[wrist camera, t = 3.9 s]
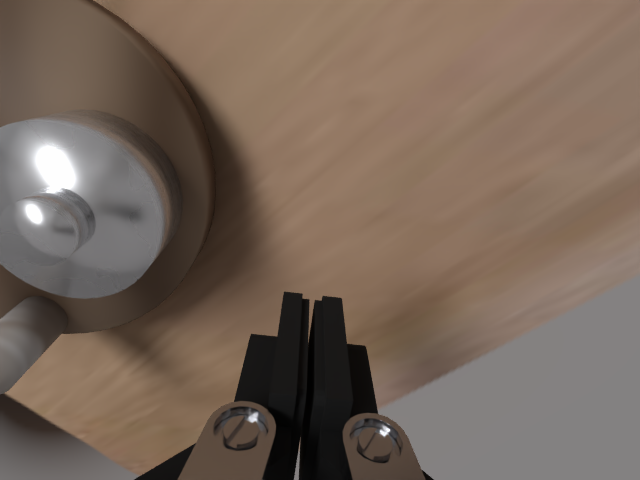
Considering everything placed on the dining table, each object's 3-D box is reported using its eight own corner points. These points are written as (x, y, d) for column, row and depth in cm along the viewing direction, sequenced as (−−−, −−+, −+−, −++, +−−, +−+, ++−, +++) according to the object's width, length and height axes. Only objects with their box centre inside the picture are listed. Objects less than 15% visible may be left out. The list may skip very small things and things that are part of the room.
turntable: (221, 4, 17) (173, -20, 11) (211, 330, 23) (179, 413, 18) (-198, -59, 16) (-467, -117, 10) (-83, 298, 22) (-210, 375, 17)
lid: (182, 121, 17) (136, 144, 12) (183, 271, 19) (146, 330, 15) (4, 98, 16) (-103, 112, 12) (32, 254, 19) (-47, 309, 15)
